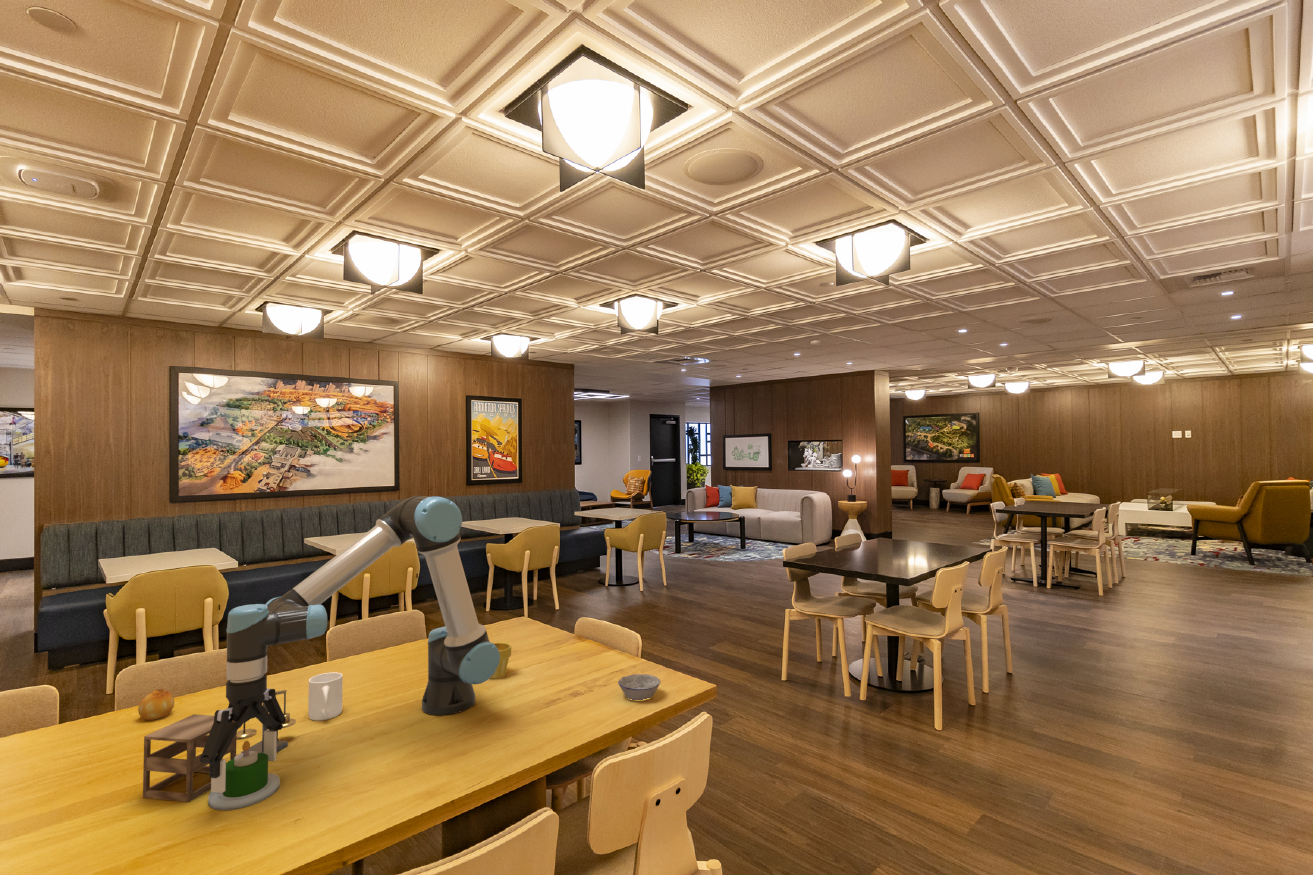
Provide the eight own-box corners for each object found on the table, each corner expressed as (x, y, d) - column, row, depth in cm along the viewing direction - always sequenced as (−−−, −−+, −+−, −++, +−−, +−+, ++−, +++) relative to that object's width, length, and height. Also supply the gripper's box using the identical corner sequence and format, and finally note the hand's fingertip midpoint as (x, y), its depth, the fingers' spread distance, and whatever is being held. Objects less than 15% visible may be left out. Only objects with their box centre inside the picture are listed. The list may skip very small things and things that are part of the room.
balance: (303, 736, 162) (303, 676, 162) (247, 769, 144) (248, 702, 145) (280, 734, 163) (280, 675, 164) (222, 767, 145) (223, 701, 146)
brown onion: (178, 709, 175) (173, 682, 178) (141, 720, 169) (137, 692, 172) (175, 717, 180) (170, 690, 182) (139, 728, 174) (135, 701, 177)
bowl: (614, 703, 182) (614, 686, 182) (623, 687, 195) (623, 672, 195) (656, 705, 180) (656, 689, 180) (663, 689, 192) (663, 674, 193)
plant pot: (517, 673, 208) (517, 644, 209) (494, 683, 200) (494, 652, 200) (496, 668, 214) (496, 640, 214) (473, 677, 205) (473, 648, 206)
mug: (307, 728, 167) (307, 688, 167) (308, 712, 177) (309, 675, 178) (342, 721, 171) (342, 682, 171) (341, 706, 182) (342, 670, 182)
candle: (233, 801, 128) (234, 753, 129) (215, 790, 133) (216, 743, 133) (275, 783, 135) (275, 737, 136) (256, 773, 140) (257, 729, 140)
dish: (293, 780, 139) (293, 774, 139) (246, 812, 126) (246, 806, 126) (243, 775, 141) (244, 770, 142) (192, 807, 129) (192, 800, 129)
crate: (235, 774, 142) (236, 717, 143) (189, 801, 131) (190, 739, 131) (192, 770, 144) (193, 714, 145) (142, 797, 133) (144, 736, 133)
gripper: (276, 658, 148) (274, 747, 147) (179, 697, 123) (177, 804, 122) (303, 659, 147) (302, 749, 146) (211, 699, 122) (209, 807, 121)
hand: (245, 774), depth 134 cm, fingers open, 13 cm apart
